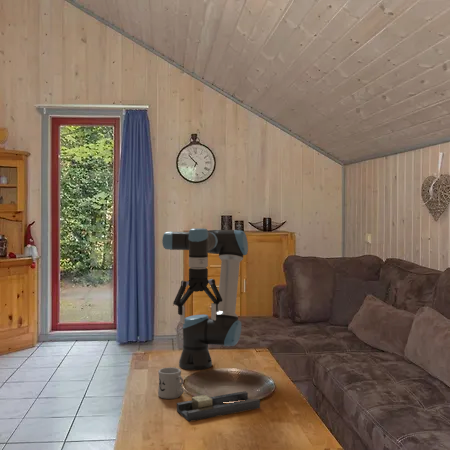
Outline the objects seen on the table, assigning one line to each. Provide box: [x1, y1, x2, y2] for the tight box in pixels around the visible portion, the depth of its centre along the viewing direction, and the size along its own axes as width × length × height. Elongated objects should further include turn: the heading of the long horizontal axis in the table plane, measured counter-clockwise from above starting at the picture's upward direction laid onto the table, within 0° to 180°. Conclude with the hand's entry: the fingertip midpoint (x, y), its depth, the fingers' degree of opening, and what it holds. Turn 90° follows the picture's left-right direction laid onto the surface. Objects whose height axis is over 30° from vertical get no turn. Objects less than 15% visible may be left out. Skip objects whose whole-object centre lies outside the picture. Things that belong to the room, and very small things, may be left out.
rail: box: [176, 390, 261, 422], centre depth 207 cm, size 11×28×3 cm, turn 118°
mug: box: [157, 366, 184, 400], centre depth 220 cm, size 12×9×10 cm
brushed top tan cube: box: [191, 394, 212, 410], centre depth 203 cm, size 6×6×6 cm
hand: (198, 321), depth 223 cm, fingers open, 13 cm apart
